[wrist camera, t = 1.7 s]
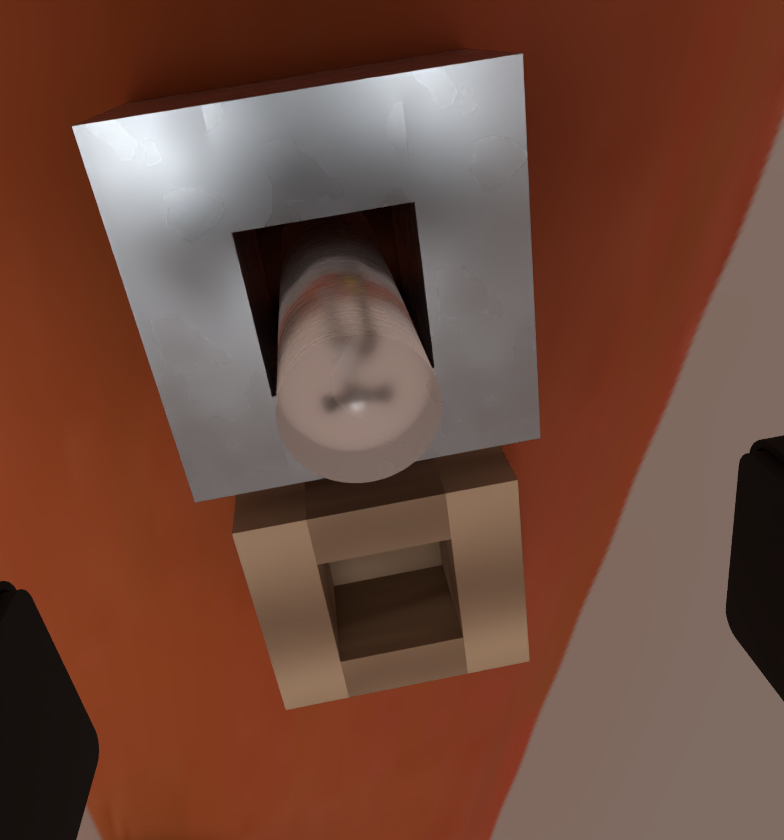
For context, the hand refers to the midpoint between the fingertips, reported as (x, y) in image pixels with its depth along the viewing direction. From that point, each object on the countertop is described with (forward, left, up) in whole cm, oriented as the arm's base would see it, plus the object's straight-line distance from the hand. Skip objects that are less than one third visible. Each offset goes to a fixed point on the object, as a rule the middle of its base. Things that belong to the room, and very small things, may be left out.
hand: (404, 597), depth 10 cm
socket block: (-1, 0, -16) cm, 16 cm away
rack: (+10, 0, -16) cm, 19 cm away
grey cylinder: (-1, 0, -16) cm, 16 cm away
